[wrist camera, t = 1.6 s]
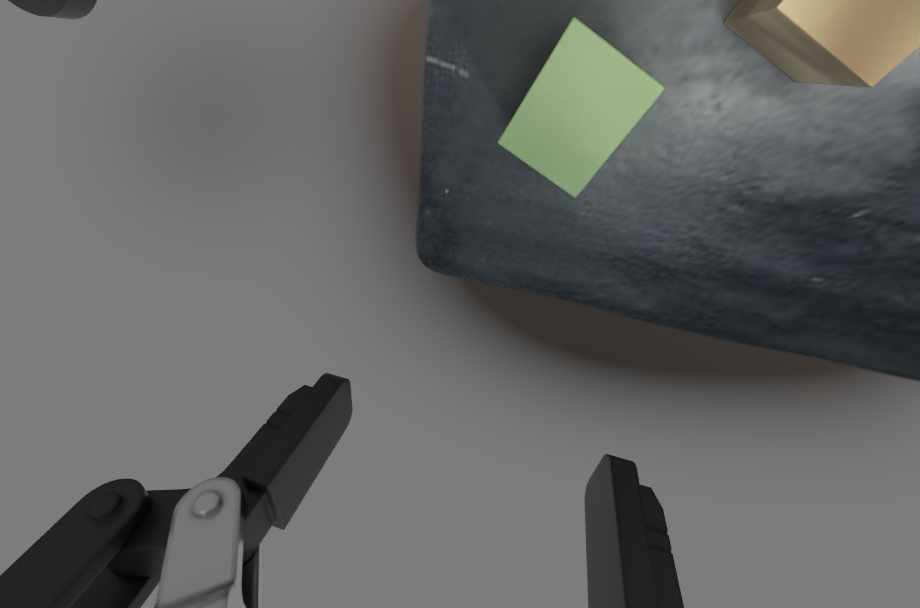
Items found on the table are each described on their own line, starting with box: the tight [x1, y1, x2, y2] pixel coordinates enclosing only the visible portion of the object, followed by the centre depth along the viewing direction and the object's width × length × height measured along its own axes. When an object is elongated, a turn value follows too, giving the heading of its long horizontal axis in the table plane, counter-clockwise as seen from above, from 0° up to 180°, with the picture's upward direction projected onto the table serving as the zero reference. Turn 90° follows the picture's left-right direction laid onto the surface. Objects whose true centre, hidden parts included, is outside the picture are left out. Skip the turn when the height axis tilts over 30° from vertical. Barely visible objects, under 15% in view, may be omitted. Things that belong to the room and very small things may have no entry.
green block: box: [498, 17, 665, 198], centre depth 23 cm, size 6×7×7 cm
